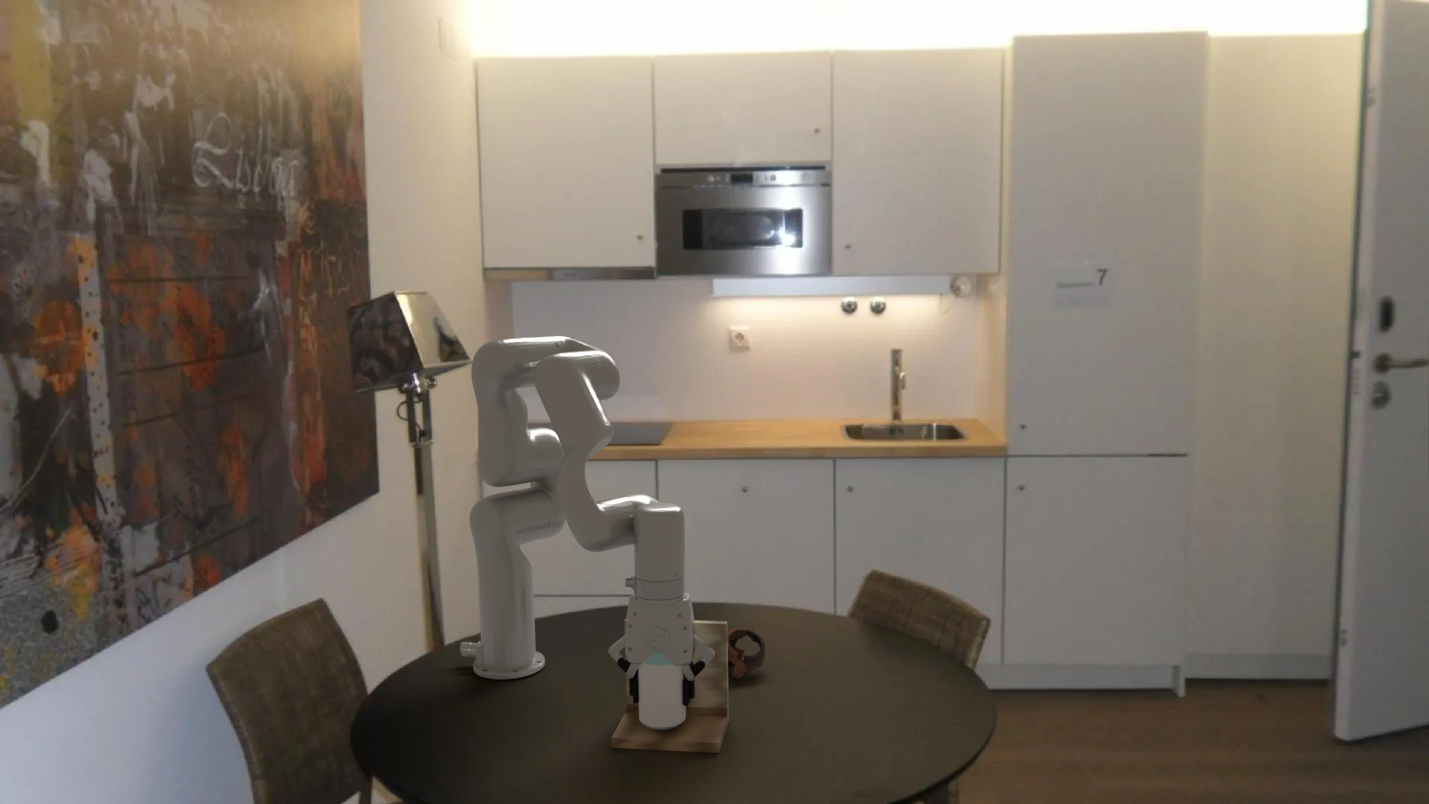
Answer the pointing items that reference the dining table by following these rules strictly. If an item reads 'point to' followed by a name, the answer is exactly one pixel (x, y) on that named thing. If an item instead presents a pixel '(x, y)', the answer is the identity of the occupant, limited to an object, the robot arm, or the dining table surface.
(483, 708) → the dining table surface
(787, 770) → the dining table surface
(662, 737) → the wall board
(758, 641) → the vr controller
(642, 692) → the can
